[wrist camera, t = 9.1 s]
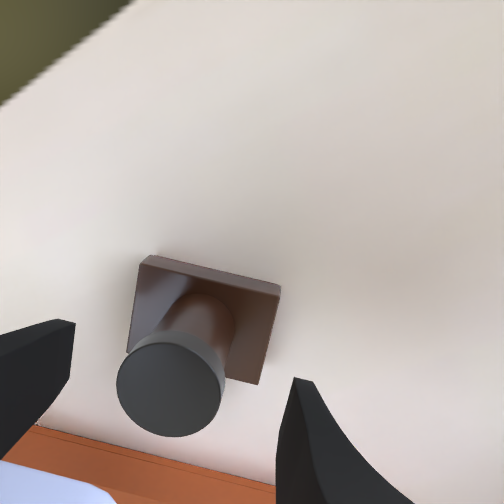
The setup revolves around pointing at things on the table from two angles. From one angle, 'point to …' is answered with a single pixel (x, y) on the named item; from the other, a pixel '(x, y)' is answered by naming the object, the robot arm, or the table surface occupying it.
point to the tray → (133, 472)
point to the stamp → (191, 343)
